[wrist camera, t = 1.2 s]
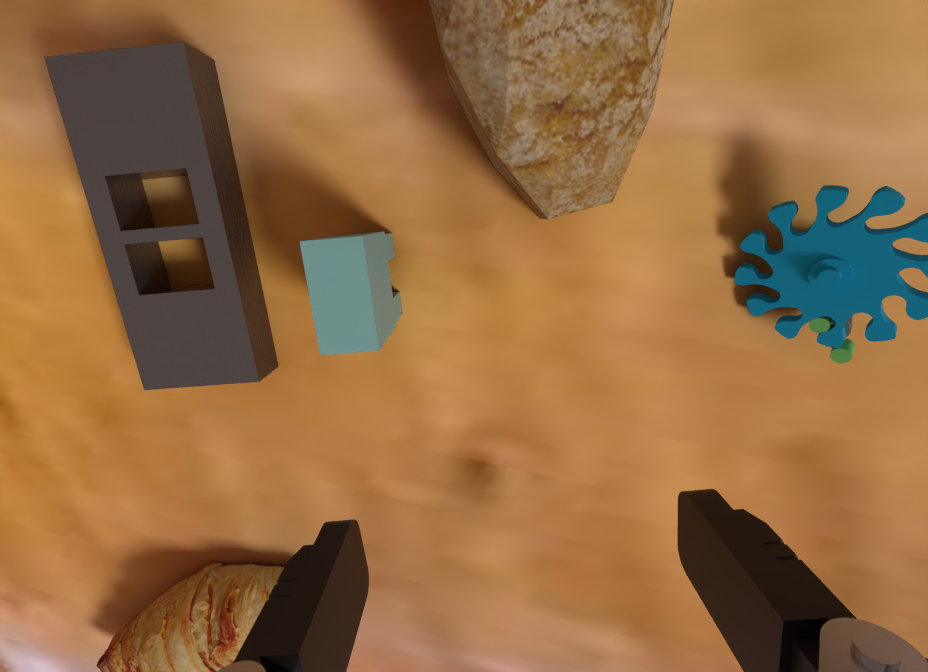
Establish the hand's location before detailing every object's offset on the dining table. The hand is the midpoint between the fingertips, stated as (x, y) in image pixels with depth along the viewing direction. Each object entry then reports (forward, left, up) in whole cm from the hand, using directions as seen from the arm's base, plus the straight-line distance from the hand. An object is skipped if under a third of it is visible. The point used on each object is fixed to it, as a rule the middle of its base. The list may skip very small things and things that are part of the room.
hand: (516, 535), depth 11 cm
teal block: (-4, -8, -21) cm, 23 cm away
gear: (-2, +21, -21) cm, 30 cm away
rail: (-8, -20, -21) cm, 30 cm away
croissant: (+24, -25, -21) cm, 40 cm away
